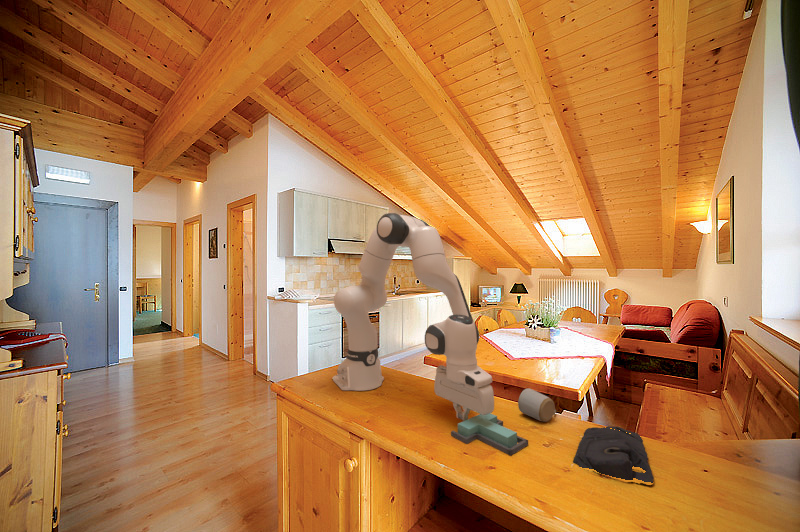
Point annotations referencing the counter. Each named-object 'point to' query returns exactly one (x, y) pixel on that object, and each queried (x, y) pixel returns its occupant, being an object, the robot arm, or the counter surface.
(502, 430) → the teal T block
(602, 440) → the dark slate chunk
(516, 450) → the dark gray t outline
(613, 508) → the counter surface
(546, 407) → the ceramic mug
